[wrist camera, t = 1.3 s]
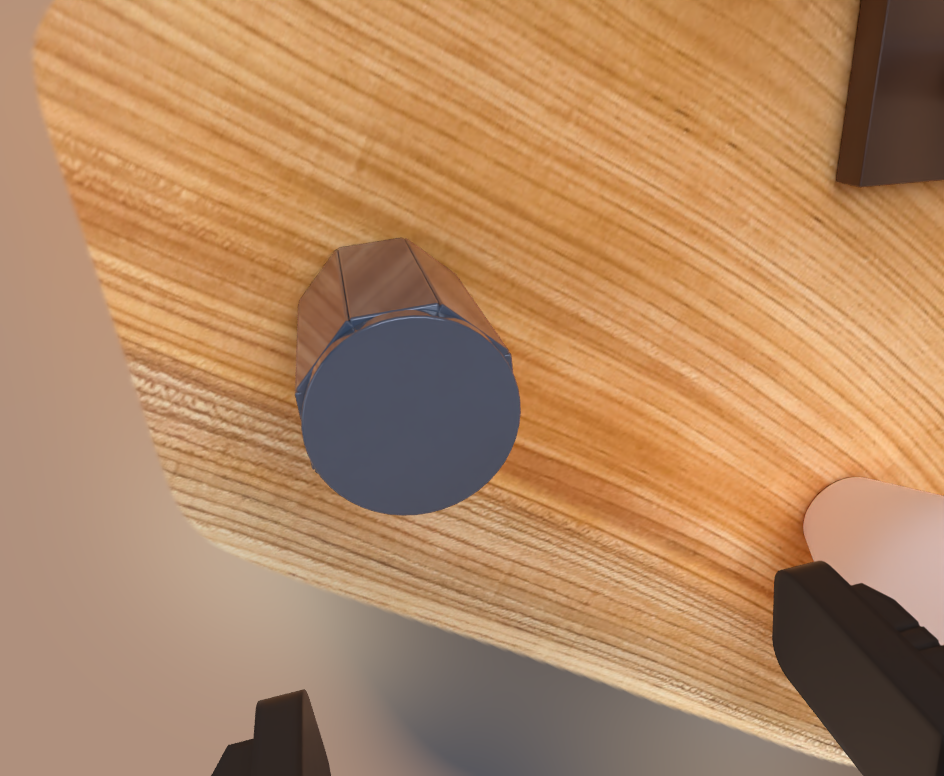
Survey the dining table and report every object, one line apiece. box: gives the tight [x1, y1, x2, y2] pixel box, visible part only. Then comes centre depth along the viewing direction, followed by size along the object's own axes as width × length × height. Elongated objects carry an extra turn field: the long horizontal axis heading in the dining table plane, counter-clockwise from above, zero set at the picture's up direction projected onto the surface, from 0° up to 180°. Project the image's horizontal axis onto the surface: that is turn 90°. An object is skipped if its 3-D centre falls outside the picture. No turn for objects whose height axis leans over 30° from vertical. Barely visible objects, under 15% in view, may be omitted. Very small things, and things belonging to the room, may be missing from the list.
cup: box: [295, 238, 521, 515], centre depth 25 cm, size 6×6×9 cm
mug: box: [803, 477, 944, 645], centre depth 33 cm, size 12×8×11 cm
